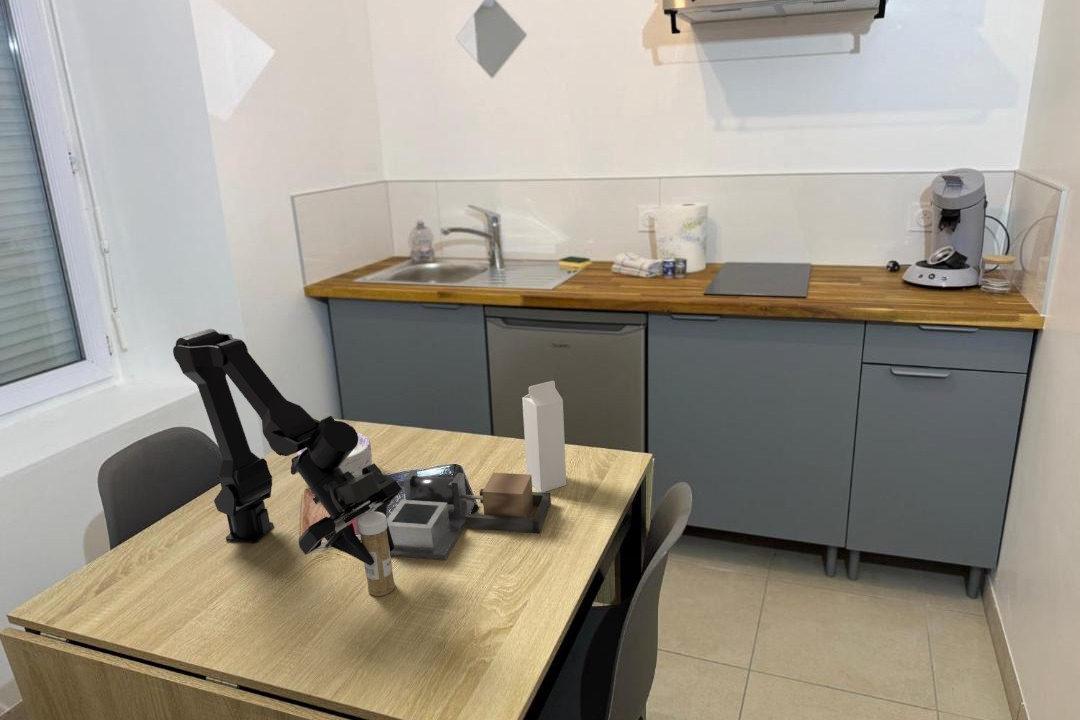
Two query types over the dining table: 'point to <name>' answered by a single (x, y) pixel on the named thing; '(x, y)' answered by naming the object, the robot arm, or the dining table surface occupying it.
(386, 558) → the sprinkles bottle
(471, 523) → the crate bay
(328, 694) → the dining table surface
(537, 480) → the milk
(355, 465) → the paper bowls
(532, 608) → the dining table surface
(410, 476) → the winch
